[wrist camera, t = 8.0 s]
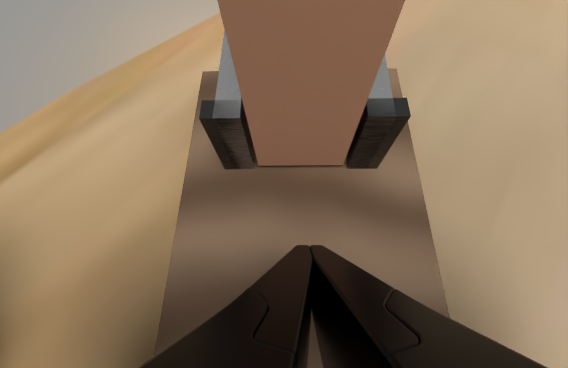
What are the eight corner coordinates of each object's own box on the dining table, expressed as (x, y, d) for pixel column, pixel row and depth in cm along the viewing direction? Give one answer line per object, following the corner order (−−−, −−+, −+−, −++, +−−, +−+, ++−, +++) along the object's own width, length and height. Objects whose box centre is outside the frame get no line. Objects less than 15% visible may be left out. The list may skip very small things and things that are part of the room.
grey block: (377, 168, 16) (410, 116, 12) (224, 169, 16) (198, 118, 12) (363, 73, 19) (385, 1, 15) (234, 75, 19) (217, 5, 15)
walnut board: (455, 412, 12) (471, 423, 11) (156, 406, 13) (143, 416, 12) (390, 81, 20) (396, 68, 19) (207, 83, 21) (202, 71, 20)
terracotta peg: (343, 165, 16) (431, -72, 6) (258, 165, 16) (201, -66, 6) (336, 86, 18) (390, -179, 8) (262, 87, 18) (226, -171, 8)
